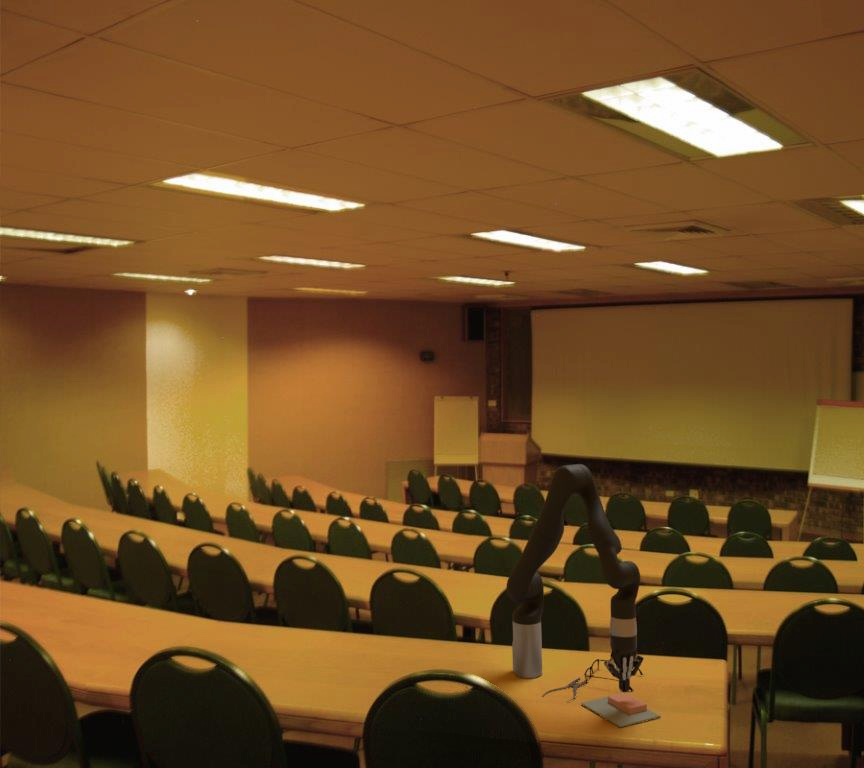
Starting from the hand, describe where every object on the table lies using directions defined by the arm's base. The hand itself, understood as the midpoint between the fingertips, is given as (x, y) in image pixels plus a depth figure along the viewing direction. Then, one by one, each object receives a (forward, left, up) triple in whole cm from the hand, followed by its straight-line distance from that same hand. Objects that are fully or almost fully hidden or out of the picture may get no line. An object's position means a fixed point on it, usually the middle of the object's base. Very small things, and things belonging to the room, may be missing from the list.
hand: (624, 691), depth 233 cm
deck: (0, -2, -4) cm, 4 cm away
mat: (0, -2, -5) cm, 6 cm away
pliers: (-21, -6, -6) cm, 23 cm away
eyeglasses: (-19, +12, -6) cm, 23 cm away
